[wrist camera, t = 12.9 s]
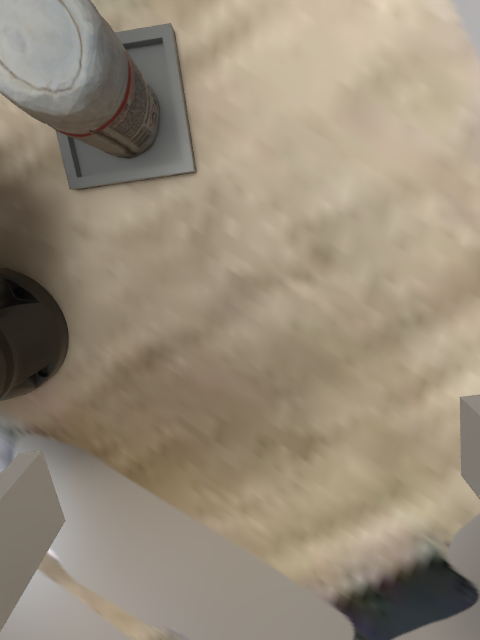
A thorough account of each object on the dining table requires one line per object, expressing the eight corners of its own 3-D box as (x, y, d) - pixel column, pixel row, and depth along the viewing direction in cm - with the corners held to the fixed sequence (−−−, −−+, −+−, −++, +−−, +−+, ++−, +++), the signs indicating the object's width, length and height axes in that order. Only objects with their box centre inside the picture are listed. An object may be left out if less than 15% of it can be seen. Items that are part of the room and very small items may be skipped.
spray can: (110, 47, 40) (-20, -99, 20) (180, 102, 41) (120, 13, 22) (67, 123, 42) (-88, 56, 22) (135, 174, 43) (43, 151, 24)
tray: (77, 189, 44) (69, 189, 42) (45, 53, 40) (35, 45, 39) (196, 172, 43) (194, 170, 41) (174, 31, 40) (170, 23, 38)
